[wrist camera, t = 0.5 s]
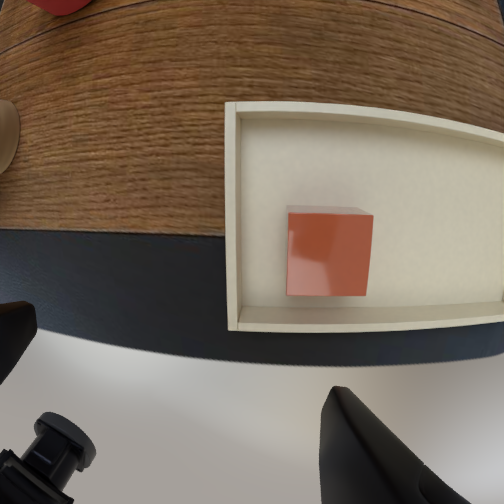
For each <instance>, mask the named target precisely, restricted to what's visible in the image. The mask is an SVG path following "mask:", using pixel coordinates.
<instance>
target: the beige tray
mask: <svg viewBox="0 0 504 504" xmlns="http://www.w3.org/2000/svg"><path fill="white" fill-rule="evenodd" d="M286 205H305V206H336V207H357V208H359V209H361V210H363V211H366V212H368V213H370V214H372V215H373V216H374V218H373V233H372V245H371V256H370V266H369V276H368V284H367V292H366V296H286V290H285V239H286ZM225 236H226V281H227V315H228V330H230V331H254V332H299V333H329V332H374V331H397V330H414V329H429V328H442V327H454V326H464V325H474V324H483V323H492V322H500V321H504V134H503V133H500V132H496V131H493V130H489V129H485V128H481V127H477V126H473V125H469V124H465V123H461V122H456V121H452V120H447V119H442V118H437V117H432V116H427V115H421V114H415V113H409V112H403V111H396V110H389V109H382V108H373V107H365V106H355V105H344V104H330V103H314V102H285V101H248V102H225Z"/></svg>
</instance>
